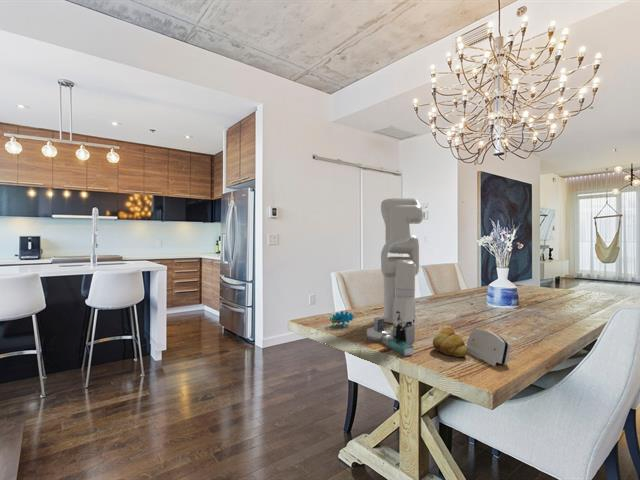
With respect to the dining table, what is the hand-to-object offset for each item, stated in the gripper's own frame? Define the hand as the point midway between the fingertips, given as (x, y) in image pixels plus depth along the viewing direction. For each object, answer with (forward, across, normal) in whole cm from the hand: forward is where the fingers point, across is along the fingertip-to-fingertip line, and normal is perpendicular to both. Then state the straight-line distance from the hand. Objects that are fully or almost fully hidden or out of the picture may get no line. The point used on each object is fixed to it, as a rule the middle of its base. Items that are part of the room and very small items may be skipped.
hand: (404, 338), depth 132 cm
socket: (+2, 0, 0) cm, 2 cm away
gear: (+2, 0, -33) cm, 33 cm away
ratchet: (+2, +5, -4) cm, 7 cm away
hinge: (+3, -8, +28) cm, 29 cm away
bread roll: (+2, -2, +17) cm, 17 cm away
